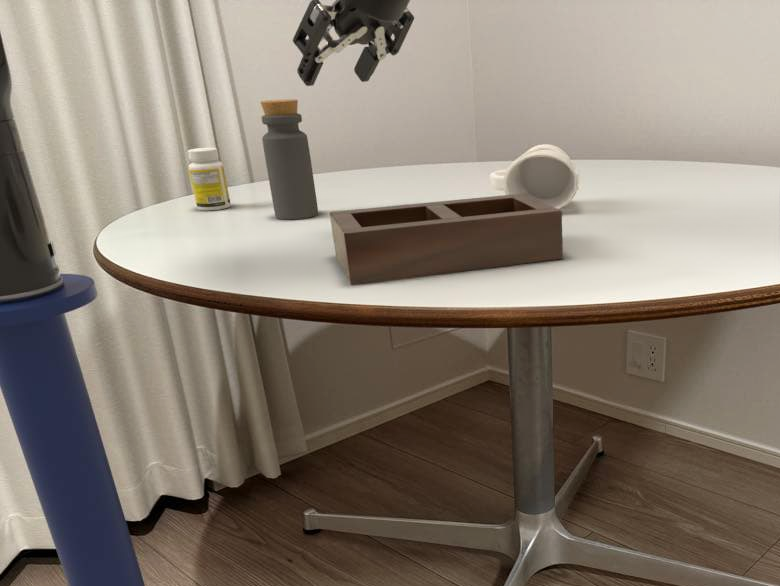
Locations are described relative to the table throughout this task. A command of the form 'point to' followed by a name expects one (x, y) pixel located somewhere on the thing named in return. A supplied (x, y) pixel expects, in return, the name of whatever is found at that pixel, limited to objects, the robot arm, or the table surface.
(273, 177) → the bottle
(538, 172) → the mug
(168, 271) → the table surface
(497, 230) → the box
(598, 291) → the table surface
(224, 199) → the supplement bottle
